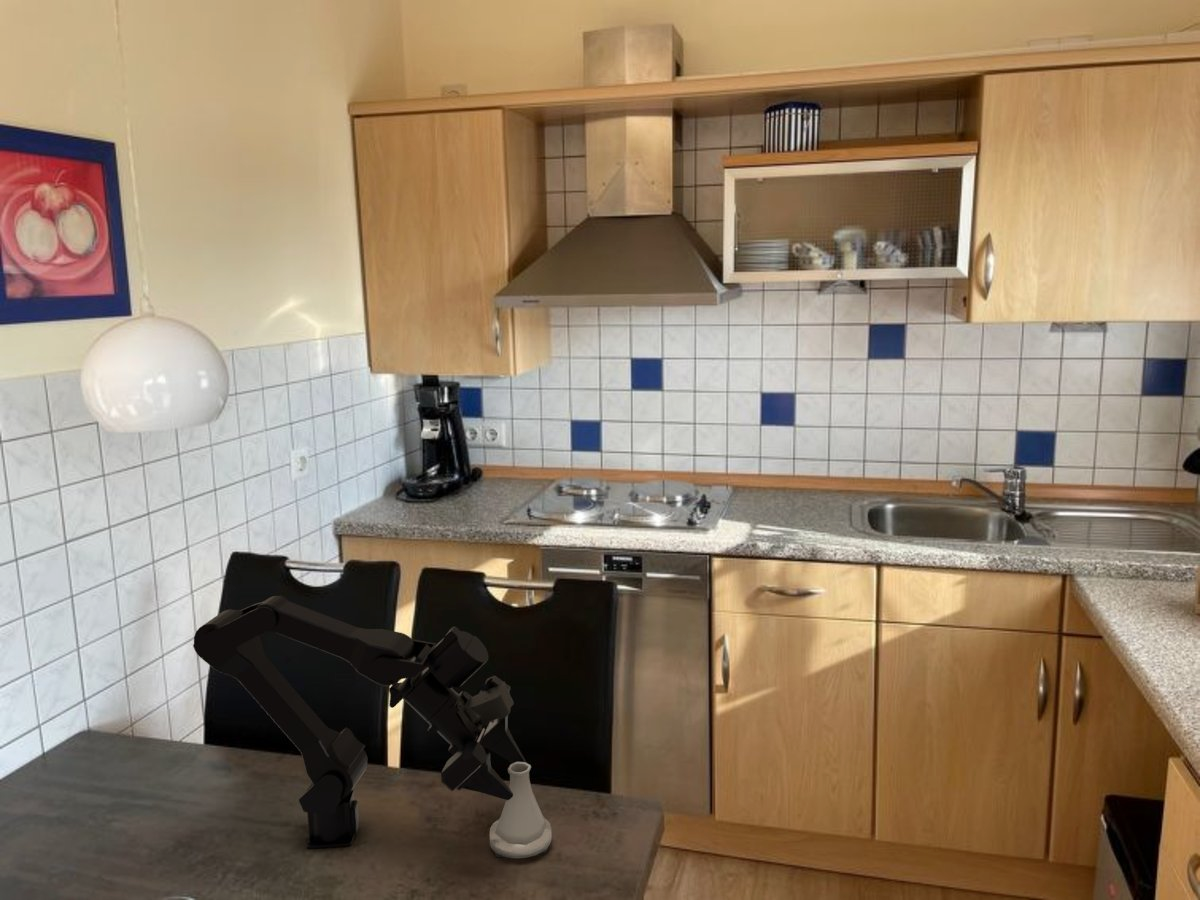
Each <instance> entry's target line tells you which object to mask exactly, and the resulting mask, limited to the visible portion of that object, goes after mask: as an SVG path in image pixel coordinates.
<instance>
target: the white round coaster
mask: <svg viewBox="0 0 1200 900" xmlns="http://www.w3.org/2000/svg"><path fill="white" fill-rule="evenodd" d="M544 819H545V821H546V827H545V829H544V832H543V834H542V836H540V837H538V838H536V839H534V840H533V841H531V842H529V843H527V844H524V843H514V842H507V841H505V840H504V839H502V838H501V837H499V836H498V835H497V834H495V831H496V828H497V825H498V823H499V820H500V818H498V819H497V820H495V821H494V822H493V823H492V824H491V826H490V828H489V846H490V848H491V849H492V850H493V852H494V856H495V857H496V858H498V859H501V858H502V859H505V858H508V859H509V858H510V859H525V858H526V859H527V858H531V857H534V856H543V855H546V854H547V852H548V848H549V846H550V844H551V843H552V838H553V837H552V825H551V823H550V821H549V820H548V819H546V818H545V817H544Z"/></svg>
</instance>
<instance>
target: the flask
mask: <svg viewBox="0 0 1200 900" xmlns="http://www.w3.org/2000/svg"><path fill="white" fill-rule="evenodd" d="M531 769H532V766H531V764H529V763H528V762H526V761H525V762H515V763H511V764H509V766H508V768H507V773H508V774H509V786H508V787H509V789H510V790H511V792H512V793H513V797H512V798H511V799H510V800H505V803H504V806H503V809H502V812H501V815H500V818H499V819H500V820H499V823H498V825H497V828H496V831H495V834H497V835H498V836H499V837H501V838H502V839H504V840H505V841H507V842H514V843H524V844H527V843H529V842H531V841H533V840H534V839H536V838H538V837H540V836H542V834H543V832H544V829H545V827H546V821H545V819H546V818H545V817H544V814H543V813H542V811H541V808H540V806H539V804H538V801H537V799H536V797H535V794H534V792H533V789H532V785H531V781H530V780H531V779H530V771H531ZM544 818H545V819H544Z"/></svg>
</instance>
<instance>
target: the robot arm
mask: <svg viewBox="0 0 1200 900" xmlns="http://www.w3.org/2000/svg"><path fill="white" fill-rule="evenodd" d="M266 632H273V633H275V634H278V635H280V636H283V637H285V638H288V639H289V640H290V639H291V640H293V641H296V642H299V643H301V644H303V645H307V646H309V647H312V648H314V649H316V650H319V651H322V652H324V653H327V654H330V655H331V656H335V657H338V658H339V659H342V660H344V661H346V662H348V663H349V664H350V665H351V666H352V667H353V668H354V669H355V671H356V672H357V673H358V674H360V676H363V677H365V678H367V679H368V680H370V681H372V682H374V683H375V684H377V685H379V686H383V687H389V688H388V692H389V696H390V697H389V703H388V704H389V705H388V706H389V707H390V708H395V707H396V706H397V705H398V704H399V703H401V701H402V700H403V701H404V702H406V703H407V704H408V705H409V706H410V707H411V708H412V709H413V710H414V711H415V712H416V713H417V714H418V715H419V716H420V717H421V718H422V719H423V720H424V721H425V722H427V724H429V727H428V729H427V732H428V734H430V735H431V736H434V734H436V733H438V734H439V736H441V737H442V738H443V739H444V740H445V741H446V742H447V743H448V744H449V745H450V746H449V748H448V749H447V752H448V753H450V754H451V755H452V756H451V757H450V758H449V759H448V760H447V761H446V763H445V765H444V766H443V768H442V771H441V773H440V781H441V782H440V783H442V784H443V785H444V786H445V787H446V788H447V789H448V790H449V791H450V792H453V791H454V790H457V791H461V790H462V789H463V790H467V791H474V792H477V793H481V794H485V795H488V796H492V797H495V798H499V799H502V800H505V801H506V800H510V799H511V798H512V797H513V793H512V792H511V790H510V789H509V786H508V785H507V784H506V783H505V782H504V780H503V779H502V778H501V777H500V775H499V774H498V773H497V772H496V771H495V770H494V768H493V767H492V764H491V752H493V753H495V754H497V755H499V756H500V757H502V758H503V759H505V760H506V761H509V762H511V764H513V763H515V762H526V758H525V756H524V755H523V754H522V752H521V750H520V749H519V746H518V744H517V743H516V741H515V740H514V739H515V738H514V737H513V735H512V734H511V731H510V729H509V727H508V725H509V724H508V722H509V721H508V718H509V715H510V714H511V708H512V706H514V704H515V703H514V700H513V698H512V696H511V693H510V691H511V686H510V685H508V684H507V683H506V681H503V680H502V679H501V678H499V677H498V676H496V675H492V676H490V677H488V678H486V680H485V683H484V684H483V685H484V690H483V689H482V690H480V691H479V693H478V694H476V695H473V696H472V695H471V694H470V693H469V692H468V691H464V690H462V691H461V692H460V693H458V692H456V690H454V689H453V687H454V688H459V687H462V685H464V684H465V682H467V681H468V680H469V679H470V678H471V677H472V676H473V675H475V673H476V672H478V671H479V670H480V668H482V666H484V665H485V664H486V663H487V662H489V661H488V660H489V653H488V650H487V648H486V646H485V645H484V643H483V642H482V641H481V639H480V638H479V637H477V636H476V635H473V634H471V633H469V632H468V631H464V630H460V629H459V628H458V627H457V626H452V627H451V628H450V629H449V631H448V632H447V633H446V634H445V636H444V637H443V638H442V639H441V640H440V641H439V642H438V643H436V642H429V641H425V640H420V639H413V638H411V637H410V635H407V634H406V633H403V632H399V631H394V630H390V629H389V630H388V629H383V628H363V627H357V626H355V625H353V624H350V623H347V622H344V621H342V620H339V619H337V618H334V617H332V616H328V615H327V614H324V613H320V612H318V611H317V610H313V609H310V608H307V607H306V606H305V607H304V606H303V605H300V604H297V603H294V602H292V601H289V600H288V598H286V597H285V596H282V595H273V596H271V597H269V598H267V599H266V600H264V601H261V602H257V603H253V604H252V605H250V606H247V607H245V608H243V609H238V610H236V609H231V608H230V609H225V610H224V611H222V612H220V613H219V614H217V615H216V616H214V617H213V618H211V619H210V620H208V621H207V622H205V623H204V624H203V625H201V626H200V627H199V628H198V629H196V631H195V634H194V635H193V644H192V646H193V647H192V648H193V650H194V651H195V653H196V655H197V656H198V657H199V658H200V659H202V660H203V662H205V663H206V664H208V666H210V667H211V668H212V669H214V670H215V671H217V672H219V673H221V674H224V675H227V676H229V677H232V678H234V679H236V680H237V681H238V682H239V683H240V684H241V685H242V686H243V688H244V689H245V690H246V691H247V692H248V693H249V694H250V696H251V697H252V698H253V699H254V700H255V701H256V702H257V704H259V706H260V708H261V709H263V710H264V712H266V714H267V715H268V716H269V717H270V718H271V720H273V723H275V724H276V726H278V728H279V729H280V730H281V731H282V732H283V734H285V736H287V738H288V739H289V740H290V741H291V742H292V744H293V745H294V746H295V747H296V748H297V749H298V751H299V753H301V757H302V760H303V765H304V769H305V773H306V776H307V777H308V779H309V780H310V782H311V783H310V785H308V787H307V788H306V789H305V791H304V792H303V794H301V796H300V798H299V799H298V802H299V804H300V807H301V809H302V811H303V812H304V813H307V825H308V827H307V828H308V838H307V841H306V848H307V849H318V848H322V849H323V848H336V847H350V846H351V845H352V844H353V841H354V838H355V836H356V835H357V834H358V829H359V826H360V816H359V800H357V799H355V796H354V788H355V787H356V785H357V783H358V782H359V781H360V779H361V777H362V776H363V775H364V773H365V772H366V769H367V767H368V759H369V758H368V756H367V755H368V754H367V753H366V751H365V749H364V748H365V747H366V745H365V744H364V743H362V742H360V741H359V740H358V739H357V738H356V737H355V735H354V734H353V733H354V732H353V731H352V730H351V729H350V728H348V727H345V728H344V729H343V730H342V731H337V730H334V729H331V728H330V727H328V726H327V725H326V724H325V723H324V721H322V720H321V718H320V717H319V716H318V714H317V713H315V711H314V710H313V709H312V708H311V707H310V706H309V705H308V703H307V702H306V701H305V700H304V699H303V697H301V695H300V694H299V693H298V691H296V689H295V688H294V687H293V686H292V685H291V683H289V681H287V679H286V678H285V677H284V675H283V674H282V673H281V672H280V671H279V670H278V669H277V667H275V665H274V664H273V663H272V662H271V661H270V659H268V657H267V656H266V654H265V652H264V647H263V642H262V639H261V635H262V634H264V633H266ZM425 667H426V668H425ZM401 680H403V681H401ZM400 681H401V682H400ZM485 748H486V749H488V750H490V751H491V752H488V753H486V750H485Z"/></svg>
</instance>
